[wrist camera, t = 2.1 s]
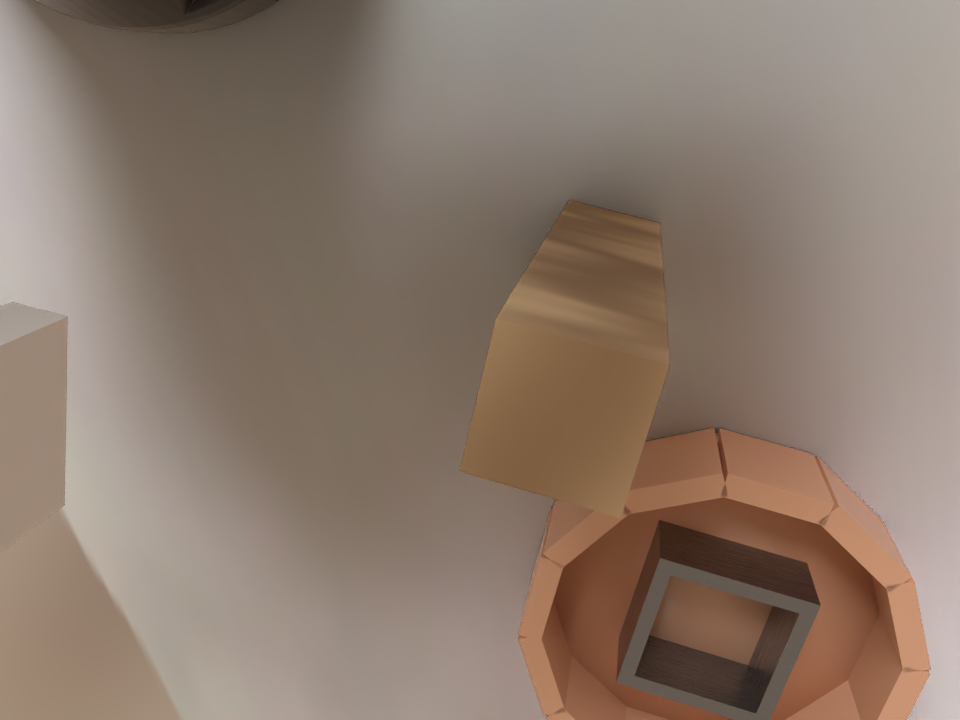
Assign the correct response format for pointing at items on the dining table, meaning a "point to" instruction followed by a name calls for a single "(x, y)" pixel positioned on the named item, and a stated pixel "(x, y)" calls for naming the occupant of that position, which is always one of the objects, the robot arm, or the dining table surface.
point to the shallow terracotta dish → (715, 613)
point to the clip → (703, 674)
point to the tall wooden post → (576, 363)
